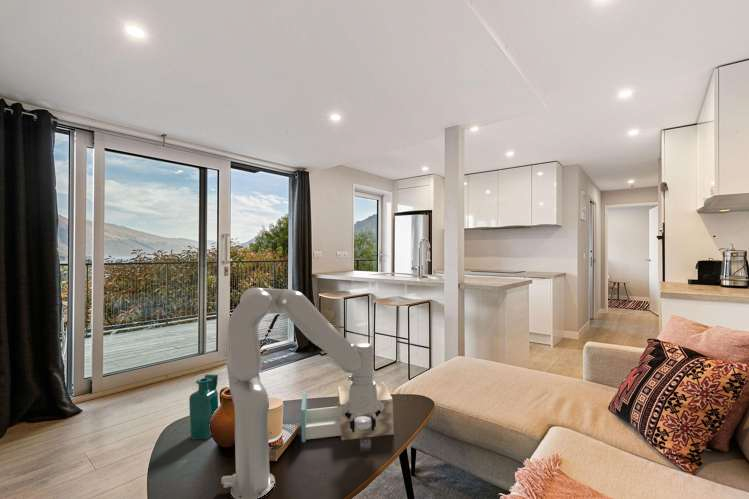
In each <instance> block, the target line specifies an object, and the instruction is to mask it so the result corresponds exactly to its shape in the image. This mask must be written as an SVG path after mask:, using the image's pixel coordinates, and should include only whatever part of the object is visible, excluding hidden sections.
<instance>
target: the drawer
mask: <svg viewBox="0 0 749 499" xmlns="http://www.w3.org/2000/svg"><path fill="white" fill-rule="evenodd" d="M307 393H308V392H307V390H303V391H302V397H301V407H300V420H301V421H300V422H301V428H300V429H301V443H306V442H307V441H306V440H311V439H312V440H313V439H323V438H330V437H336V436H337V437H341V410H340V406H339V405H338V406H330V407H329V406H327V407H318V408H310V409H308V402H307V401H308V398H307V396H308V394H307Z"/></svg>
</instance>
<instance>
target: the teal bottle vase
mask: <svg viewBox="0 0 749 499" xmlns="http://www.w3.org/2000/svg"><path fill="white" fill-rule="evenodd" d="M195 384H198V385H197V386H198V388H197V390H196V391H195V392H193V393H191V394H190V396H189V400H188V401H189V405H188V406H189V407H188V408H189V436H190V439H191V438H194V439H193V440H198V439H206V440H209V439H211V438H212V437H211V433H210V427H209V424H210V419H211V417H212V415H213V413H214V411H215V410H216V409H217V408H218V409H219V393H218V390H217V387H218V374H209V373H208V374H207V373H206V374H205V375H204V377H203V378H198V379H197V380H196V381H195ZM208 438H209V439H208Z"/></svg>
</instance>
